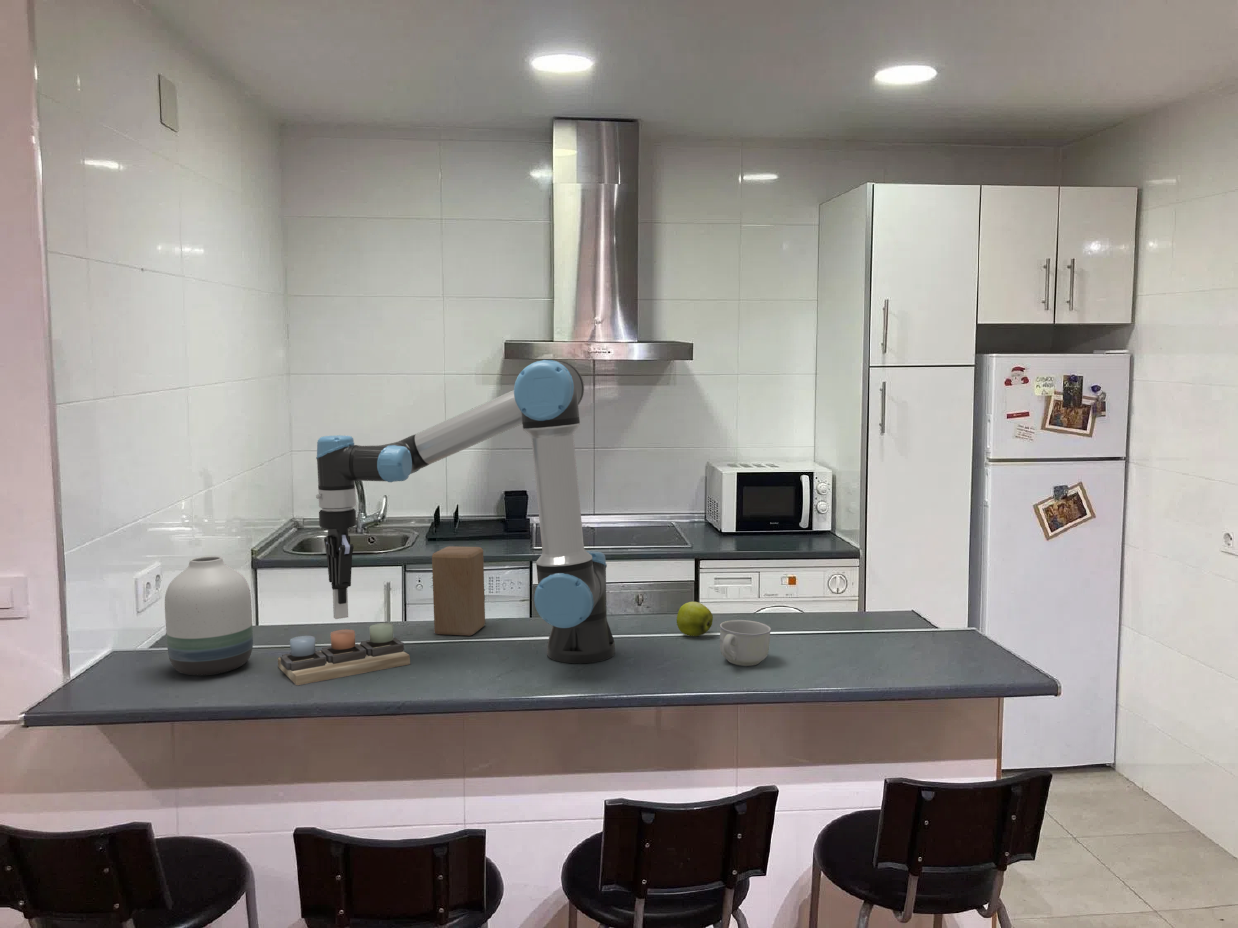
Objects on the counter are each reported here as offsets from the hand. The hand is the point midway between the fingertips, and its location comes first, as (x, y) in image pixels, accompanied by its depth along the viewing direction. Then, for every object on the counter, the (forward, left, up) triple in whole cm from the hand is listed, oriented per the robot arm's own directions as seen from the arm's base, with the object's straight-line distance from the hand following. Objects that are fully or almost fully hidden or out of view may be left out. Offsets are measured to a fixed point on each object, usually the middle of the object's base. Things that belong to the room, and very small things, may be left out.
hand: (340, 617), depth 205 cm
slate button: (0, +8, -6) cm, 10 cm away
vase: (+14, +24, -11) cm, 30 cm away
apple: (-26, -75, -11) cm, 80 cm away
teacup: (-49, -70, -11) cm, 86 cm away
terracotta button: (0, 0, -6) cm, 6 cm away
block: (+11, -32, -11) cm, 36 cm away
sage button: (0, -9, -6) cm, 11 cm away
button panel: (0, 0, -11) cm, 11 cm away
